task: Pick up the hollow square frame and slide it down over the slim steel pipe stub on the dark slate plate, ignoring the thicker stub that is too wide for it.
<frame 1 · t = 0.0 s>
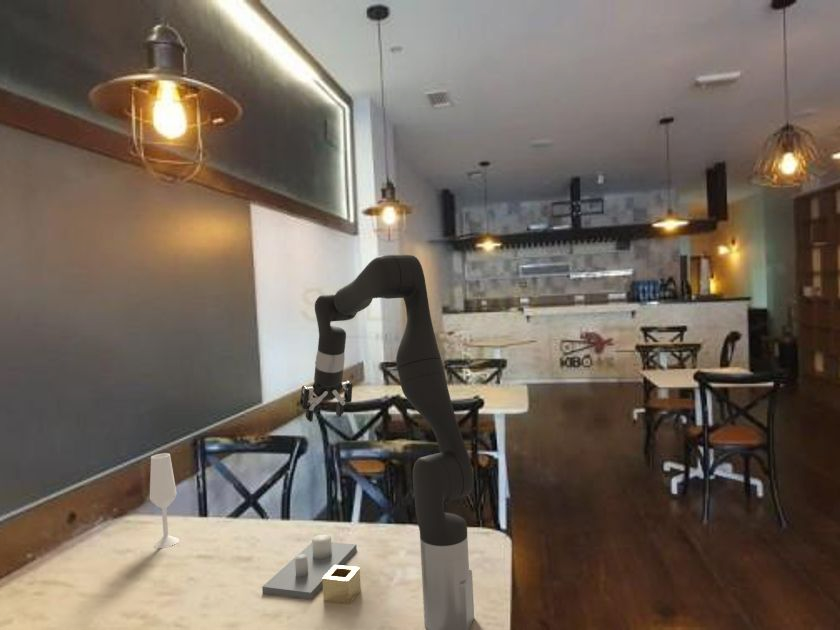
hand: (324, 417, 159), 31 cm above the table, tool tilted 20°, fingers open, 8 cm apart
hollow square frame: (342, 595, 124), on the table
stub plate: (312, 570, 137), on the table
champagne flute: (166, 543, 157), on the table
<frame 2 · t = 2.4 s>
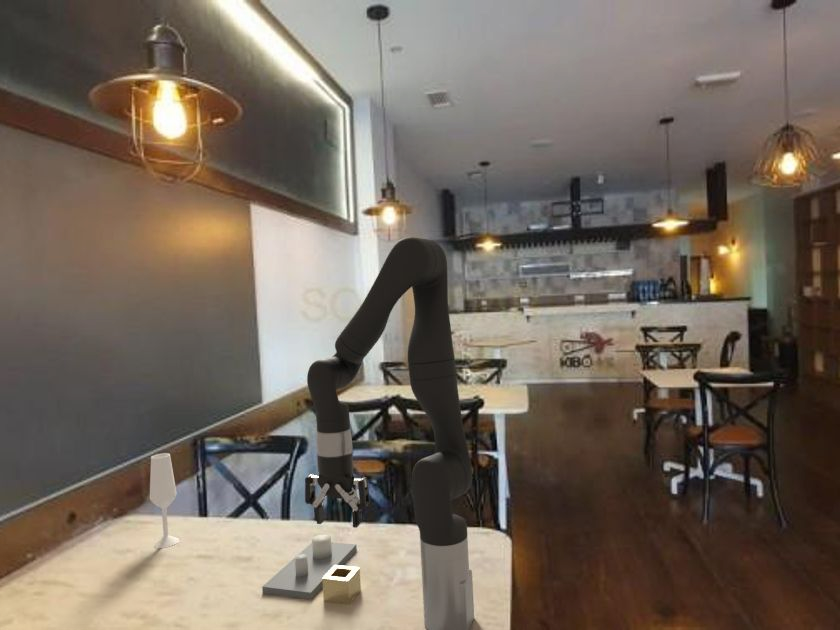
hand: (338, 524, 124), 16 cm above the table, tool pointing down, fingers open, 8 cm apart
nothing on the table moved.
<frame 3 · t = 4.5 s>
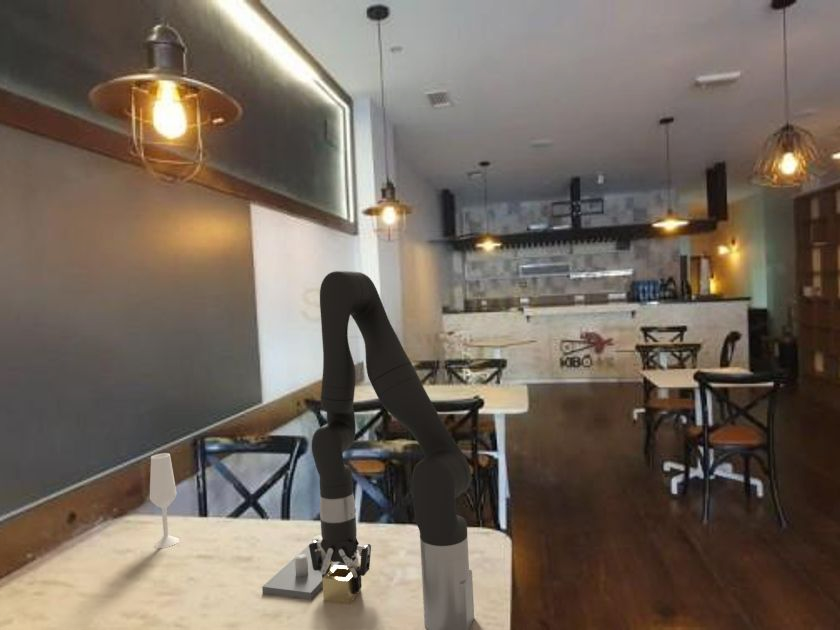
hand: (342, 590, 124), 1 cm above the table, tool pointing down, fingers closed on hollow square frame, 6 cm apart
hollow square frame: (342, 595, 124), on the table, touching gripper
everything else where it was.
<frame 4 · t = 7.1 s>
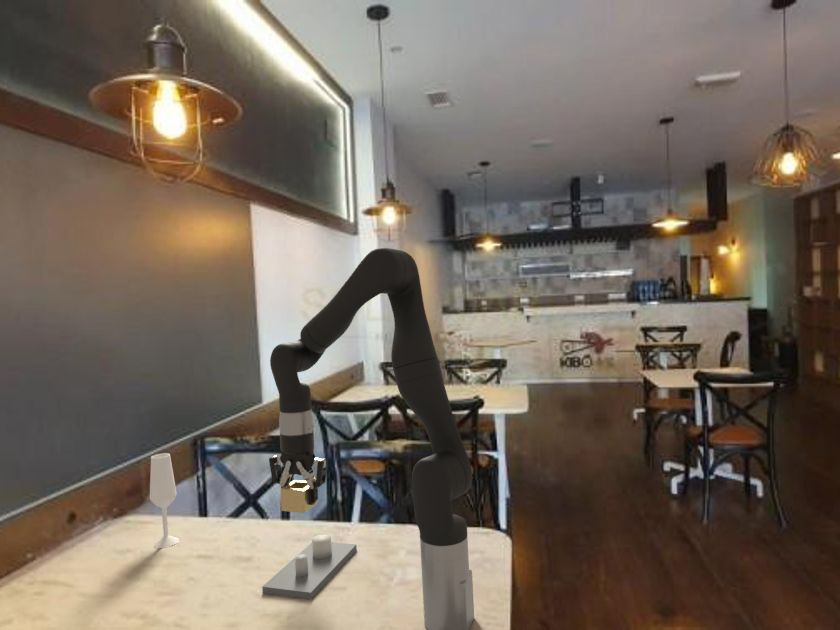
hand: (299, 502, 131), 18 cm above the table, tool pointing down, fingers closed on hollow square frame, 6 cm apart
hollow square frame: (300, 506, 131), point 17 cm above the table, touching gripper
everything else where it was.
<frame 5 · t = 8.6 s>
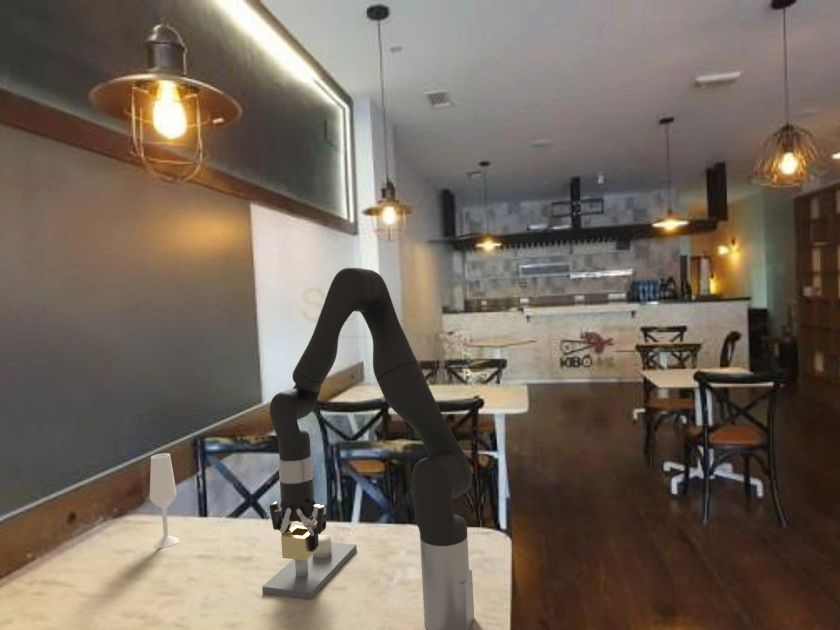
hand: (300, 548, 132), 7 cm above the table, tool pointing down, fingers closed on hollow square frame, 6 cm apart
hollow square frame: (300, 553, 132), point 6 cm above the table, touching gripper
everything else where it was.
when the fingers open (4 cm above the table, at t = 9.9 s): hollow square frame stays where it is, resting on stub plate.
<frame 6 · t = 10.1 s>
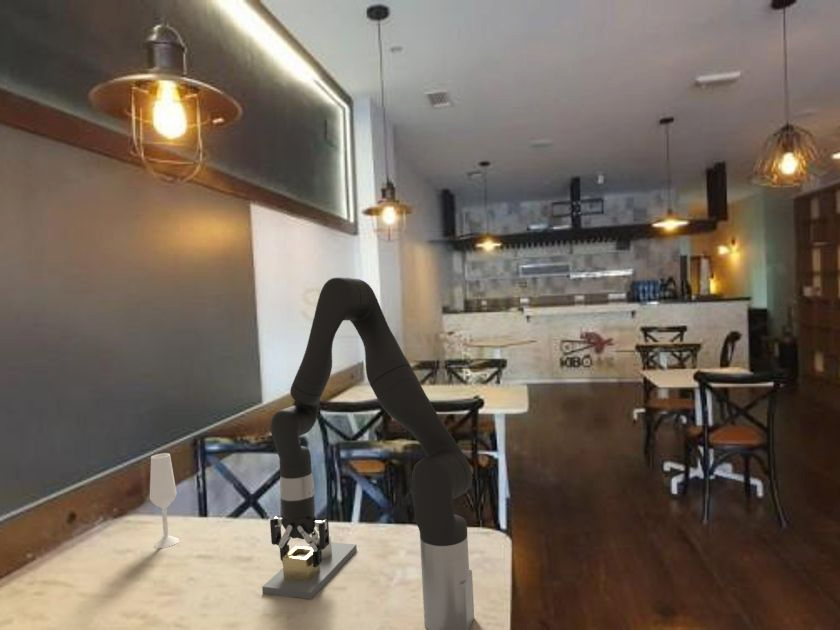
hand: (301, 563, 132), 4 cm above the table, tool pointing down, fingers open, 7 cm apart
hollow square frame: (302, 574, 132), point 1 cm above the table, touching stub plate
everything else where it was.
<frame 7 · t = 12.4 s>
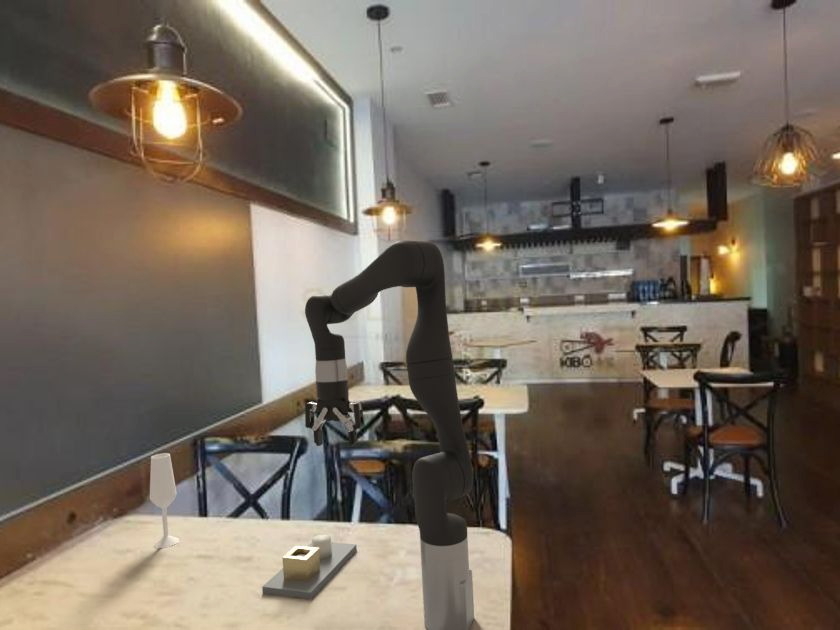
hand: (335, 445, 137), 29 cm above the table, tool pointing down, fingers open, 8 cm apart
nothing on the table moved.
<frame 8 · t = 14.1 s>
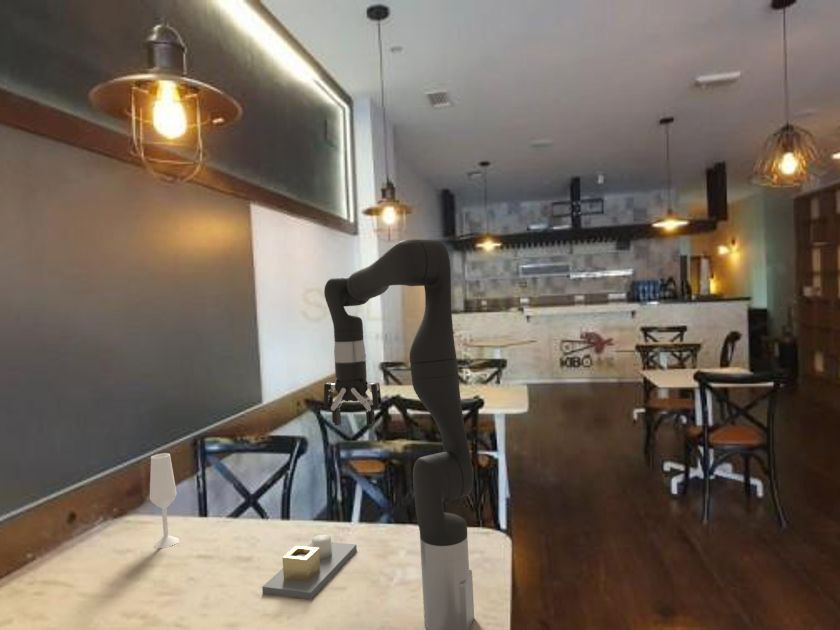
hand: (353, 425, 140), 33 cm above the table, tool pointing down, fingers open, 8 cm apart
nothing on the table moved.
at the end: hollow square frame 0.0 cm from the target spot on the stub plate, point 1.5 cm above the stub plate's base; hollow square frame tilted 0°; the gripper is holding nothing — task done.
